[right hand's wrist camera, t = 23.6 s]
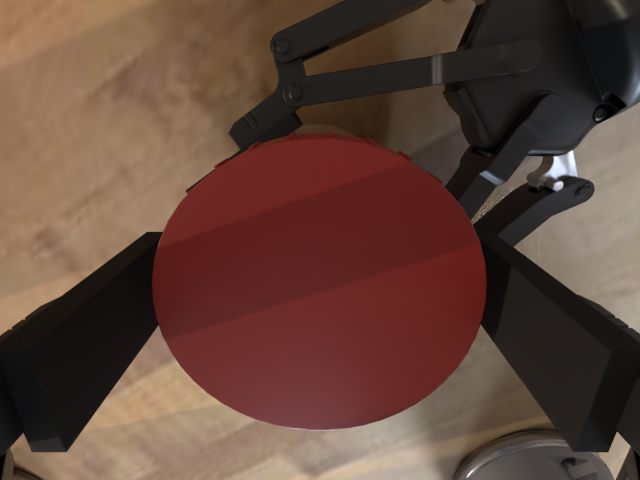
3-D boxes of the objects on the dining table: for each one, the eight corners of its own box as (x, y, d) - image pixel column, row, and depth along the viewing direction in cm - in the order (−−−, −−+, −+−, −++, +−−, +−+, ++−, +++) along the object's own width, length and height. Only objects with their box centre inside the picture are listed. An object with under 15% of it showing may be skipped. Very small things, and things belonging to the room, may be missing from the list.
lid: (108, 243, 11) (74, 266, 10) (371, 54, 9) (382, 45, 8) (285, 429, 14) (280, 470, 13) (513, 317, 12) (541, 348, 11)
